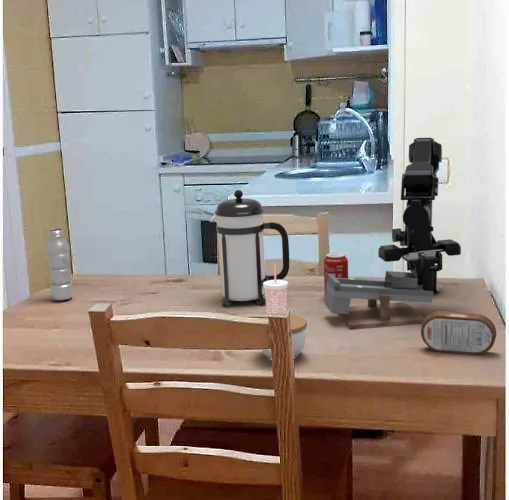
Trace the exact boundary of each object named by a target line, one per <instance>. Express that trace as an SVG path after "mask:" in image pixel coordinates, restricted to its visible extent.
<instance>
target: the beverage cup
mask: <svg viewBox="0 0 509 500" xmlns="http://www.w3.org/2000/svg"><path fill="white" fill-rule="evenodd" d="M276 263H277V262H273V274H274V280H268V281H265V282H264V283H263V287H264V289H265V294H264V296H265V297H264V299H265V301H266V303H265V305H266V314H267V313H277V312H283V311H286V312H287V306H288V305H287V304H288V302H287V298H288V287H289V281H287V280H285V279H282V280H276V275H277V267H276V266H277V264H276Z"/></svg>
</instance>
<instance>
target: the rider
mask: <svg viewBox="0 0 509 500" xmlns="http://www.w3.org/2000/svg"><path fill="white" fill-rule="evenodd" d="M417 280H418V278H417V277H415V276H414V275H412V274H411V271H410V272H409V271H407V272H406V271H392V270H391V271H390V270H385V276H384V281H385V282H384V287H385V288H391V289H407V290H416V287H417Z"/></svg>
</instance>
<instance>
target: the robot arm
mask: <svg viewBox="0 0 509 500" xmlns="http://www.w3.org/2000/svg"><path fill="white" fill-rule="evenodd" d="M408 161H409V163H410V164H408V165H407V166H405V170H404V173H402V177H401V189H400V201H406V208H405V209H404V211H403V214H402V221H403V224H404V225H405V226H404V230H402V229H401V228H392V229H391V238H392V243H399V245H400V247H399V246H397V245H396V244H386V245H380V246H379V248H378V251H377V252H378V258H379V259H381V260H383V262H386V263H387V262H388V263H390V262H399V261H400V260H401V259H403V260H404V261H405V262H406V269H407V270H406V271H407V272H409V271H410V273H411V274H412V275H414V276H415V277H417V278H418V280H417V283H418V285H422V284H423V286H422V289H423V290H424V291H433V292H434V293H433V294H439V293H440V290H438V289H437V288H438V287H437V286H438V284H437V283H438V276H437V275H438V272H440V271H442V270H443V254H442V253H443V252H444V253H445V254H446V255H447V256H449V257H451V256H452V257H454V256H460V255H462V246H461V244H460V243H459V242H458V241H455V240H453V239H451V238H450V239H439V240H436V239H435V237H434V235H433V232H434V226H433V201H435V200H436V197H438V196H439V177H438V176H437V173H438V171H439V170H440V163H443V147H442V144H441V143H439V142H437V141H436V140H435V139H434V137H416V138H414V139H413V142H412V143H410V144H409V145H408Z"/></svg>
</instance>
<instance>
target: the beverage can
mask: <svg viewBox="0 0 509 500" xmlns="http://www.w3.org/2000/svg"><path fill="white" fill-rule="evenodd" d="M325 256H326V257H325V258H324V260H323V279H324V280H323V281H324V282H323V283H324V296H325V295H326V285H327V277H328V274H333V275H334V276H335V277H336V278H347V279H349V259H348V257H346V254H345V253H344V252H329V253H326V255H325Z"/></svg>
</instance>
